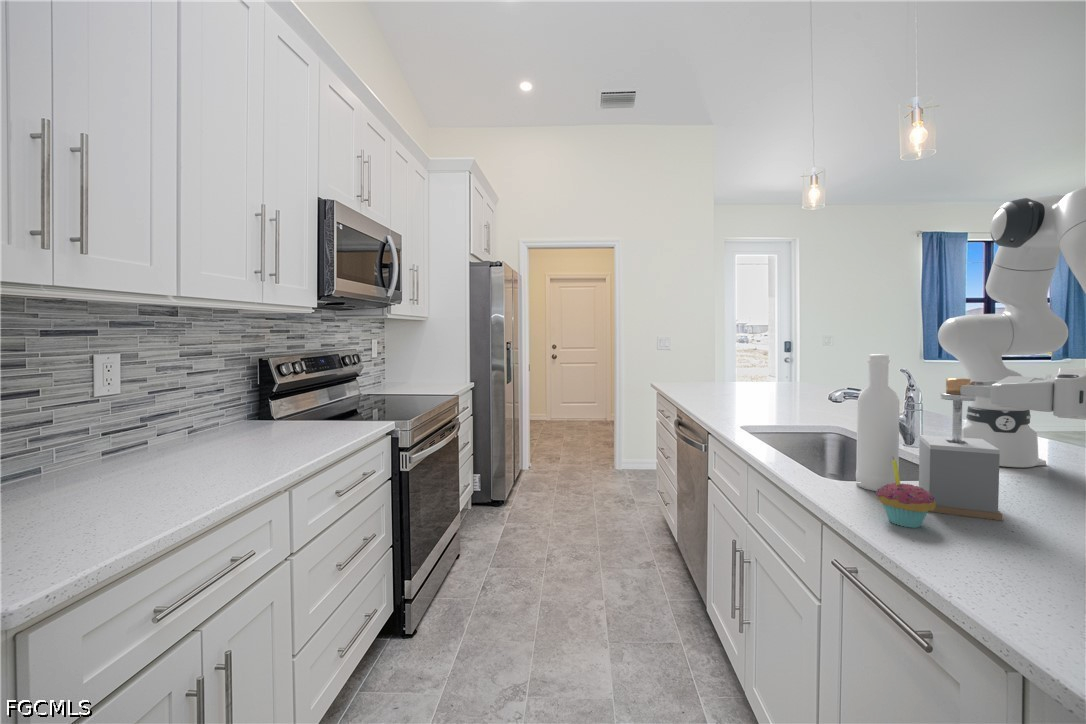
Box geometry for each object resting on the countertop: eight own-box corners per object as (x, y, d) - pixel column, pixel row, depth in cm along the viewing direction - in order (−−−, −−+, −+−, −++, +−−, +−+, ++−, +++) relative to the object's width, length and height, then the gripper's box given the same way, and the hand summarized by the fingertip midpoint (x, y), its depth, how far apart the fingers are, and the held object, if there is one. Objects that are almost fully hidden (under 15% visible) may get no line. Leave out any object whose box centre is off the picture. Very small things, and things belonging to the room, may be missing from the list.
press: (915, 494, 101) (916, 434, 101) (983, 501, 96) (984, 438, 95) (926, 511, 92) (927, 445, 91) (1002, 520, 86) (1004, 450, 86)
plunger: (927, 462, 99) (929, 376, 98) (975, 466, 95) (977, 377, 94) (936, 471, 92) (938, 380, 91) (988, 476, 88) (990, 381, 87)
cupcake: (870, 522, 87) (871, 458, 87) (884, 510, 93) (885, 450, 92) (929, 536, 81) (930, 467, 80) (940, 523, 86) (941, 458, 85)
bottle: (865, 491, 104) (867, 355, 102) (849, 481, 111) (850, 354, 110) (906, 493, 102) (909, 354, 101) (887, 482, 110) (889, 353, 108)
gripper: (1076, 370, 88) (976, 368, 98) (1069, 379, 75) (955, 375, 85) (1075, 404, 88) (975, 398, 99) (1068, 418, 75) (954, 409, 86)
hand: (966, 387), depth 92 cm, fingers open, 8 cm apart
